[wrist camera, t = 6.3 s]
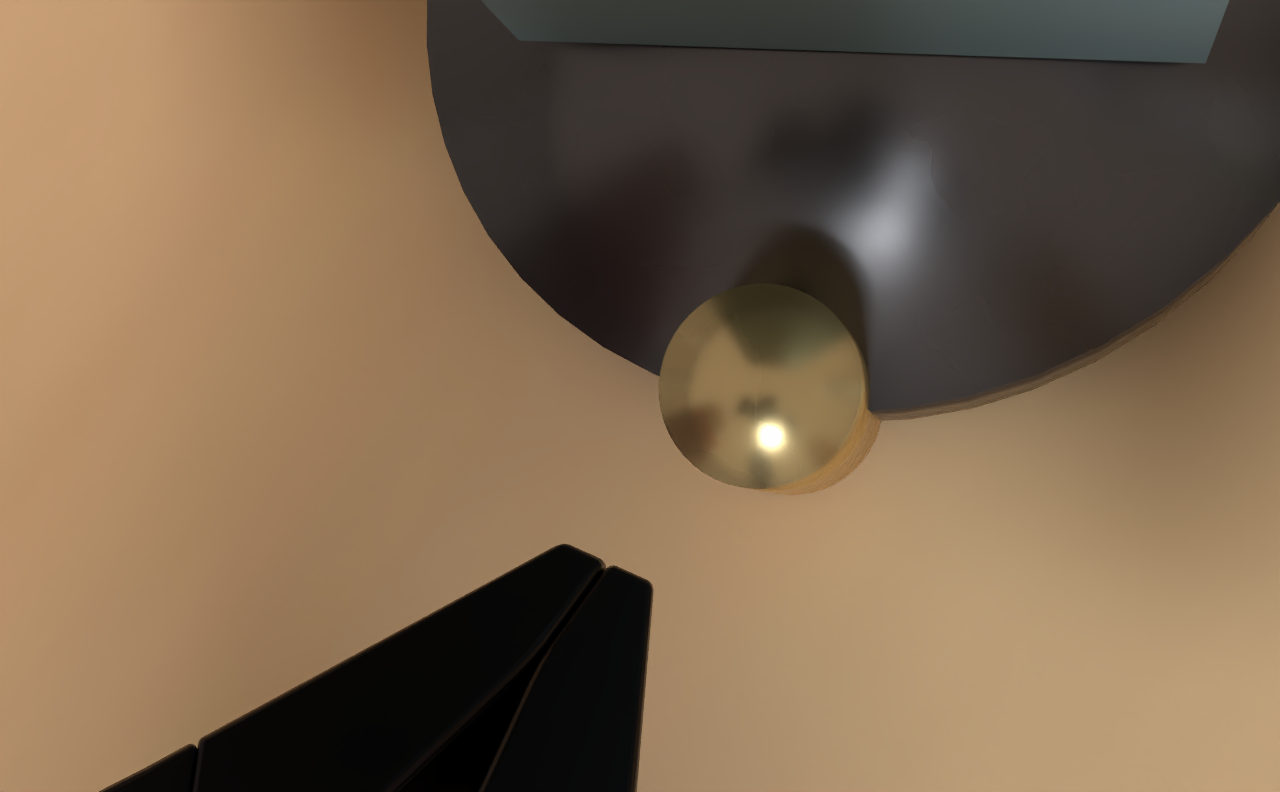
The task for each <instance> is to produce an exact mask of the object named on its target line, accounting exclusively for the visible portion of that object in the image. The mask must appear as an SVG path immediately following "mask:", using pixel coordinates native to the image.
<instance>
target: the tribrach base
mask: <svg viewBox="0 0 1280 792" xmlns="http://www.w3.org/2000/svg"><path fill="white" fill-rule="evenodd" d="M427 49H428V57H429V66H430V75H431V84H432V93H433V98H434V102H435V106H436V110H437V114H438V118H439V122H440V126H441V130H442V134H443V138H444V142H445V145H446V148H447V151H448V153H449V156H450V158H451V161H452V163H453V166H454V168H455V171H456V173H457V176H458V178H459V181H460V183H461V186H462V188H463V191H464V193H465V195H466V196H467V198H468V200H469V202H470V203H471V205H472V207H473V209H474V211H475V212H476V214H477V216H478V218H479V219H480V221H481V223H482V225H483V226H484V228H485V230H486V232H487V234H488V235H489V237H490V238H491V239H492V241H493V242H494V243H495V245H496V246H497V247H498V249H499V250H500V251H501V252H502V254H503V255H504V256H505V258H506V259H507V260H508V262H509V263H510V264H511V265H512V267H513V268H514V269H515V271H516V272H517V273H518V275H519V276H520V277H521V278H522V279H523V280H524V281H525V282H526V283H527V284H528V285H529V286H530V287H531V288H532V289H533V290H534V291H535V292H536V293H537V294H538V295H539V296H540V297H541V298H542V299H543V300H544V301H545V302H546V303H547V304H549V305H550V306H551V307H552V308H553V309H554V310H555V311H556V312H557V313H558V314H559V315H560V316H561V317H563V318H564V319H566V320H567V321H568V322H570V323H571V324H572V325H574V326H575V327H577V328H578V329H579V330H581V331H582V332H583V333H585V334H586V335H588V336H589V337H590V338H592V339H593V340H594V341H596V342H597V343H599V344H600V345H601V346H603V347H604V348H606V349H608V350H610V351H612V352H614V353H616V354H617V355H619V356H621V357H623V358H625V359H627V360H629V361H631V362H633V363H634V364H636V365H638V366H640V367H642V368H644V369H646V370H648V371H649V372H651V373H653V374H655V375H658V376H660V379H659V400H660V406H661V412H662V415H663V419H664V423H665V425H666V427H667V430H668V432H669V434H670V436H671V438H672V440H673V441H674V443H675V445H676V446H677V447H678V449H679V450H680V451H681V453H682V454H683V455H684V456H685V457H686V458H687V459H688V460H689V461H690V462H691V463H692V464H693V465H694V466H695V467H697V468H698V469H699V470H701V471H702V472H703V473H705V474H707V475H709V476H711V477H712V478H714V479H716V480H719V481H721V482H724V483H727V484H730V485H734V486H739V487H744V488H749V489H755V490H760V491H766V492H772V493H778V494H787V495H795V494H806V493H812V492H815V491H819V490H822V489H825V488H827V487H829V486H831V485H834V484H835V483H837V482H839V481H840V480H842V479H843V478H845V477H846V476H847V475H849V474H850V473H851V472H852V471H853V470H855V468H856V467H857V466H858V465H859V464H860V463H861V462H862V461H863V459H864V458H865V457H866V455H867V454H868V452H869V451H870V449H871V447H872V445H873V443H874V442H875V439H876V436H877V434H878V431H879V428H880V423H881V421H883V420H904V419H914V418H920V417H925V416H931V415H937V414H942V413H948V412H954V411H959V410H965V409H971V408H974V407H978V406H981V405H984V404H987V403H991V402H994V401H997V400H1000V399H1004V398H1007V397H1010V396H1013V395H1016V394H1020V393H1023V392H1026V391H1029V390H1033V389H1035V388H1038V387H1040V386H1042V385H1044V384H1046V383H1049V382H1051V381H1053V380H1055V379H1058V378H1060V377H1062V376H1064V375H1066V374H1069V373H1071V372H1073V371H1075V370H1077V369H1080V368H1082V367H1084V366H1086V365H1089V364H1091V363H1093V362H1095V361H1097V360H1099V359H1100V358H1102V357H1103V356H1105V355H1107V354H1108V353H1110V352H1112V351H1113V350H1115V349H1116V348H1118V347H1120V346H1121V345H1123V344H1125V343H1126V342H1128V341H1130V340H1131V339H1133V338H1134V337H1136V336H1138V335H1139V334H1141V333H1143V332H1144V331H1146V330H1148V329H1149V328H1151V327H1152V326H1154V325H1155V324H1156V323H1158V322H1159V321H1160V320H1161V319H1163V318H1164V317H1165V316H1166V315H1168V314H1169V313H1170V312H1171V311H1173V310H1174V309H1175V308H1176V307H1178V306H1179V305H1180V304H1181V303H1183V302H1184V301H1185V300H1186V299H1188V298H1189V297H1190V296H1191V295H1193V294H1194V293H1195V292H1196V291H1198V290H1199V289H1200V288H1201V287H1203V286H1204V285H1205V284H1206V283H1208V281H1209V280H1210V279H1211V278H1212V277H1213V276H1214V275H1215V274H1216V273H1217V272H1218V271H1219V270H1220V269H1221V268H1222V267H1223V266H1224V265H1225V264H1226V263H1227V262H1228V261H1229V260H1230V259H1231V258H1232V257H1233V256H1234V255H1235V254H1236V252H1237V251H1238V250H1239V249H1240V248H1241V247H1242V246H1243V245H1244V244H1245V243H1246V242H1247V241H1248V240H1249V239H1250V238H1251V237H1252V236H1253V235H1254V234H1255V233H1256V231H1257V230H1258V229H1259V227H1260V226H1261V225H1262V224H1263V222H1264V221H1265V220H1266V218H1267V217H1268V216H1269V214H1270V213H1271V212H1272V211H1273V209H1274V208H1275V207H1276V205H1277V204H1278V203H1279V201H1280V0H1229V2H1228V5H1227V8H1226V10H1225V13H1224V16H1223V18H1222V21H1221V24H1220V26H1219V29H1218V32H1217V34H1216V37H1215V40H1214V42H1213V45H1212V48H1211V50H1210V53H1209V56H1208V58H1207V61H1206V63H1176V62H1146V61H1116V60H1086V59H1056V58H1027V57H997V56H967V55H937V54H907V53H877V52H847V51H817V50H788V49H758V48H728V47H698V46H668V45H638V44H608V43H578V42H549V41H519V40H518V39H517V38H516V37H515V36H514V35H513V34H512V33H511V32H510V31H509V29H508V28H507V27H506V26H505V25H504V24H503V23H502V22H501V21H500V20H499V19H498V18H497V17H496V16H495V15H494V14H493V13H492V12H491V11H490V10H489V8H488V7H487V6H486V5H485V4H484V3H483V2H482V1H481V0H427Z"/></svg>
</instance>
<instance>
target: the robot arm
mask: <svg viewBox="0 0 1280 792" xmlns="http://www.w3.org/2000/svg"><path fill="white" fill-rule="evenodd" d="M652 603H653V586H652V584H651V583H650V582H649V581H648V580H646V579H644V578H642V577H639V576H637V575H635V574H633V573H631V572H628V571H626V570H624V569H622V568H620V567H617V566H610V567H608V568H607V569H606V565H605V563H604V562H603V561H602V560H601V559H600V558H597V557H595V556H593V555H591V554H589V553H586V552H584V551H582V550H580V549H578V548H575V547H573V546H571V545H568V544H561V545H557V546H555V547H553V548H551V549H550V550H548V551H546V552H544V553H542V554H540V555H538V556H537V557H535V558H533V559H531V560H529V561H527V562H526V563H524V564H522V565H520V566H518V567H516V568H514V569H513V570H511V571H509V572H507V573H505V574H503V575H502V576H500V577H498V578H496V579H494V580H492V581H490V582H489V583H487V584H485V585H483V586H481V587H479V588H478V589H476V590H474V591H472V592H470V593H468V594H466V595H465V596H463V597H461V598H459V599H457V600H455V601H454V602H452V603H450V604H448V605H446V606H444V607H442V608H441V609H439V610H437V611H435V612H433V613H431V614H430V615H428V616H426V617H424V618H422V619H420V620H418V621H417V622H415V623H413V624H411V625H409V626H407V627H405V628H404V629H402V630H400V631H398V632H396V633H394V634H393V635H391V636H389V637H387V638H385V639H383V640H381V641H380V642H378V643H376V644H374V645H372V646H370V647H369V648H367V649H365V650H363V651H361V652H359V653H357V654H356V655H354V656H352V657H350V658H348V659H346V660H345V661H343V662H341V663H339V664H337V665H335V666H333V667H332V668H330V669H328V670H326V671H324V672H322V673H321V674H319V675H317V676H315V677H313V678H311V679H309V680H308V681H306V682H304V683H302V684H300V685H298V686H297V687H295V688H293V689H291V690H289V691H287V692H285V693H284V694H282V695H280V696H278V697H276V698H274V699H272V700H271V701H269V702H267V703H265V704H263V705H261V706H260V707H258V708H256V709H254V710H252V711H250V712H248V713H247V714H245V715H243V716H241V717H239V718H237V719H236V720H234V721H232V722H230V723H228V724H226V725H224V726H223V727H221V728H219V729H217V730H215V731H213V732H211V733H210V734H208V735H206V736H204V737H202V738H201V739H200V740H199V743H198V748H197V747H196V746H195V745H193V744H188V745H186V746H184V747H183V748H181V749H179V750H177V751H175V752H174V753H172V754H170V755H168V756H166V757H164V758H163V759H161V760H159V761H157V762H155V763H153V764H152V765H150V766H148V767H146V768H144V769H142V770H140V771H138V772H136V773H134V774H132V775H130V776H129V777H127V778H125V779H123V780H121V781H119V782H117V783H115V784H113V785H111V786H109V787H107V788H105V789H103V790H101V791H99V792H637V781H638V769H639V757H640V745H641V733H642V722H643V710H644V698H645V686H646V674H647V662H648V650H649V638H650V626H651V615H652Z"/></svg>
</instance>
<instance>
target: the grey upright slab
mask: <svg viewBox="0 0 1280 792" xmlns="http://www.w3.org/2000/svg"><path fill="white" fill-rule="evenodd" d="M481 1H482V2H483V3H484V4H485V5H486V6H487V7H488V8H489V10H490V11H491V12H492V13H493V14H494V15H495V16H496V17H497V18H498V19H499V20H500V21H501V22H502V23H503V24H504V25H505V26H506V27H507V28H508V29H509V31H510V32H511V33H512V34H513V35H514V36H515V37H516V38H517V39H518V40H519V41H549V42H578V43H608V44H638V45H668V46H698V47H728V48H758V49H788V50H817V51H847V52H877V53H907V54H937V55H967V56H997V57H1027V58H1056V59H1086V60H1116V61H1146V62H1176V63H1206V61H1207V58H1208V56H1209V53H1210V50H1211V48H1212V45H1213V42H1214V40H1215V37H1216V34H1217V32H1218V29H1219V26H1220V24H1221V21H1222V18H1223V16H1224V13H1225V10H1226V8H1227V5H1228V2H1229V0H481Z"/></svg>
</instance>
